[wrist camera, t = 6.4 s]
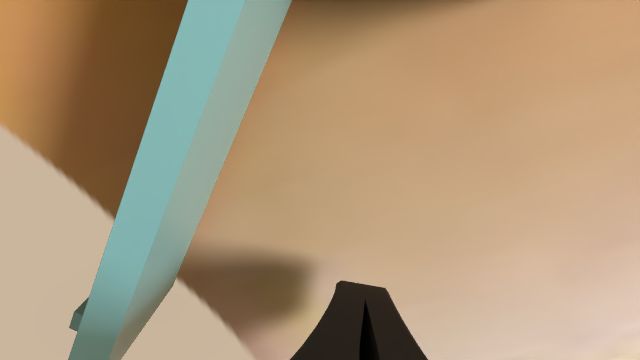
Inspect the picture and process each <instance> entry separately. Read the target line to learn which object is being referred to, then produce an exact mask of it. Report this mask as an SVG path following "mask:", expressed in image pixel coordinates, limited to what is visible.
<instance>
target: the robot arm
mask: <svg viewBox="0 0 640 360" xmlns="http://www.w3.org/2000/svg"><path fill="white" fill-rule="evenodd" d="M290 360H428V359H427V358H426V356H425V355H424V353H423V352H422V350H421V349H420V347H419V346H418V344H417V343H416V341H415V339H414V338H413V336H412V335H411V333H410V331H409V330H408V328H407V327H406V325H405V323H404V321H403V320H402V318H401V316H400V314H399V312H398V311H397V309H396V307H395V305H394V303H393V301H392V299H391V297H390V295H389V293H388V291H387V290H386V289H385V288H382V287H376V286H370V285H365V284H359V283H353V282H347V281H340V282H338V283H337V284H336V290H335V293H334V295H333V298H332V300H331V302H330V304H329V306H328V308H327V310H326V311H325V313H324V315H323V316H322V318H321V320H320V321H319V323H318V325H317V326H316V327H315V329H314V330H313V332H312V333H311V334H310V336H309V337H308V338H307V340H306V341H305V343H304V344H303V345H302V346H301V348H300V349H299V350H298V351H297V352H296V353H295V355H294V356H293V357H292V358H291V359H290Z"/></svg>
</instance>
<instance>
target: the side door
mask: <svg viewBox="0 0 640 360" xmlns="http://www.w3.org/2000/svg"><path fill="white" fill-rule="evenodd" d="M291 2H292V0H188V3H187V6H186V9H185V12H184V15H183V18H182V21H181V24H180V27H179V30H178V33H177V36H176V39H175V42H174V45H173V48H172V51H171V54H170V57H169V60H168V63H167V66H166V69H165V72H164V75H163V78H162V81H161V84H160V87H159V90H158V93H157V96H156V98H155V101H154V104H153V107H152V110H151V113H150V116H149V119H148V122H147V125H146V128H145V131H144V134H143V137H142V140H141V143H140V146H139V149H138V152H137V155H136V158H135V161H134V164H133V167H132V170H131V173H130V176H129V179H128V182H127V185H126V188H125V191H124V194H123V197H122V200H121V203H120V206H119V209H118V212H117V215H116V218H115V221H114V224H113V227H112V230H111V233H110V236H109V239H108V242H107V245H106V248H105V251H104V254H103V257H102V260H101V263H100V266H99V269H98V272H97V275H96V278H95V281H94V284H93V288H92V290H91V294H90V296H89V297H88V298H87V300H85V302H83V303H82V305H81V306H80V307H79V308H78V309H77V310H76V311H75V312H74V315H73V318H72V321H71V324H70V327H69V328H71V329H73V330H75V331H77V335H76V338H75V341H74V344H73V347H72V350H71V353H70V356H69V359H68V360H121V358H122V357H123V355H124V354H125V353H126V351H127V350H128V348H129V347H130V346H131V344H132V343H133V341H134V340H135V339H136V337H137V336H138V334H139V333H140V331H141V330H142V328H143V327H144V326H145V324H146V323H147V322H148V320H149V319H150V317H151V316H152V314H153V313H154V312H155V310H156V309H157V307H158V306H159V305H160V303H161V302H162V300H163V299H164V297H165V296H166V295H167V293H168V292H169V290H170V289H171V288H172V286H173V284H174V281H175V279H176V277H177V274H178V272H179V269H180V267H181V265H182V262H183V260H184V257H185V255H186V253H187V250H188V248H189V245H190V243H191V241H192V238H193V236H194V234H195V231H196V229H197V226H198V224H199V222H200V219H201V217H202V214H203V212H204V210H205V207H206V205H207V202H208V200H209V198H210V195H211V193H212V191H213V188H214V186H215V183H216V181H217V179H218V176H219V174H220V171H221V169H222V167H223V164H224V162H225V159H226V157H227V155H228V152H229V150H230V148H231V145H232V143H233V140H234V138H235V136H236V133H237V131H238V128H239V126H240V124H241V121H242V119H243V116H244V114H245V112H246V109H247V107H248V105H249V102H250V100H251V97H252V95H253V93H254V90H255V88H256V85H257V83H258V81H259V78H260V76H261V73H262V71H263V69H264V66H265V64H266V62H267V59H268V57H269V54H270V52H271V50H272V47H273V45H274V42H275V40H276V38H277V35H278V33H279V30H280V28H281V26H282V23H283V21H284V19H285V16H286V14H287V11H288V9H289V7H290V4H291Z"/></svg>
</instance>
